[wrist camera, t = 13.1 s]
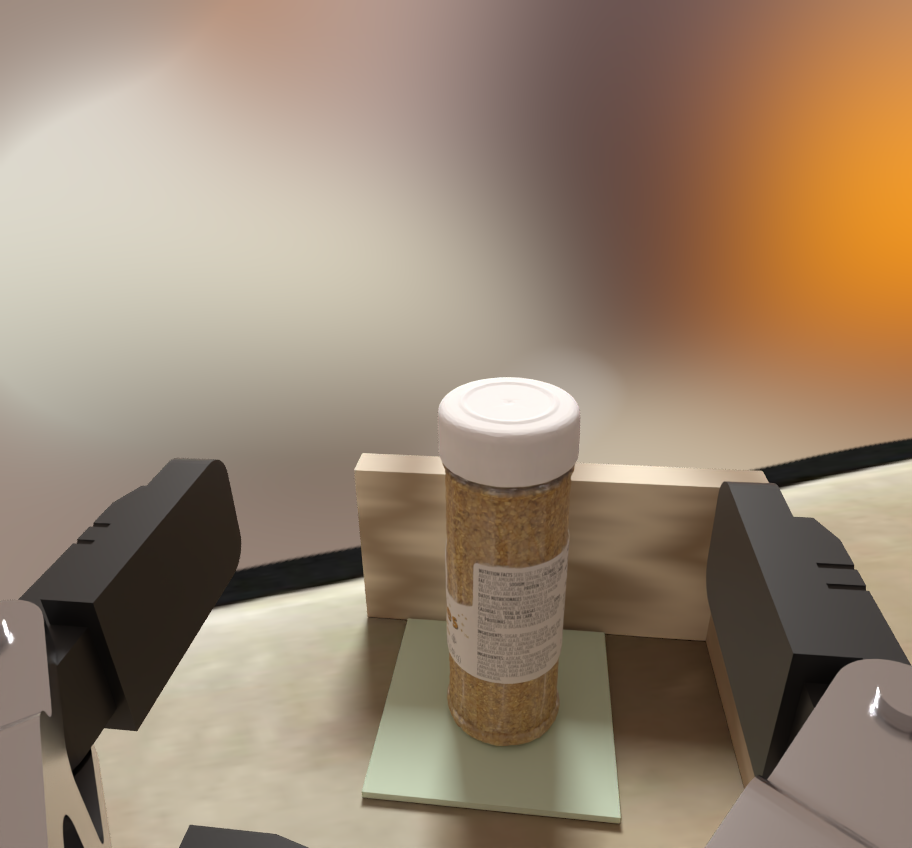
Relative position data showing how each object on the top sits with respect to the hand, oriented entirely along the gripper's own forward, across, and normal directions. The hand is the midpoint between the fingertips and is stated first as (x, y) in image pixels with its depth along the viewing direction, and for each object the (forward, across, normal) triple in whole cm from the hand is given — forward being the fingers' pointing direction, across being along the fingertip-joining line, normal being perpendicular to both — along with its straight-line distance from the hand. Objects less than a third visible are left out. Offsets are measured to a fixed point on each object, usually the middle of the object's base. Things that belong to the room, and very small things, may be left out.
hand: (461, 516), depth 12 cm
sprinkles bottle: (+11, 0, +17) cm, 20 cm away
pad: (+11, 0, +17) cm, 20 cm away
